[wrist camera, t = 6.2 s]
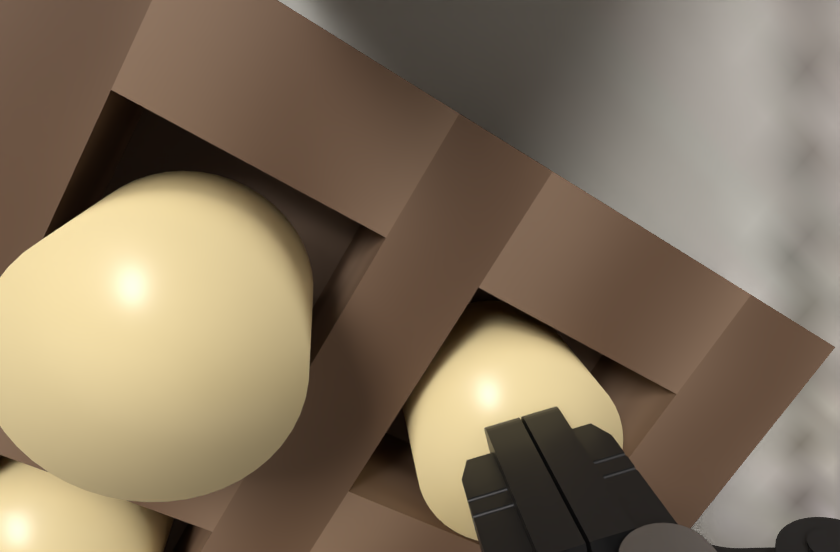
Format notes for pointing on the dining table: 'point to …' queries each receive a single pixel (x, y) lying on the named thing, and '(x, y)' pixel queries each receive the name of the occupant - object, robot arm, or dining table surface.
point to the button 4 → (492, 398)
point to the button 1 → (71, 516)
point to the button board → (379, 257)
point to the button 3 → (158, 339)
